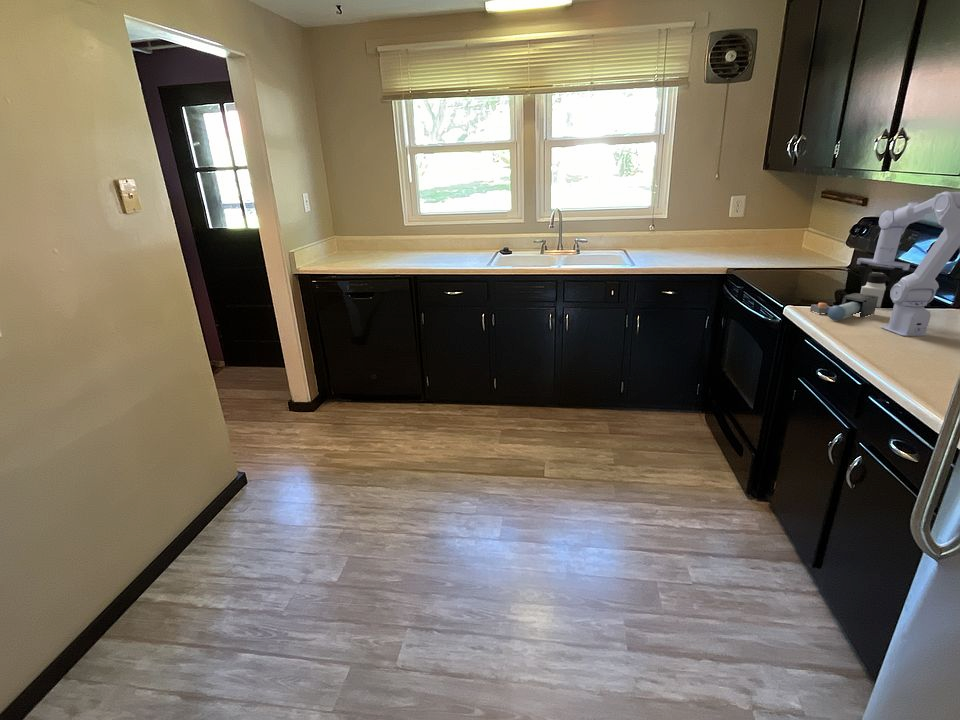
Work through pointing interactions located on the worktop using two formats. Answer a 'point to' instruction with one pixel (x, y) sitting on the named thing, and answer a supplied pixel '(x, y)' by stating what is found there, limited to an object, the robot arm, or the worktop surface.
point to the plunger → (822, 304)
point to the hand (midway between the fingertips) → (876, 287)
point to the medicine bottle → (875, 286)
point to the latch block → (819, 309)
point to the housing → (867, 300)
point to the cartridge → (844, 310)
